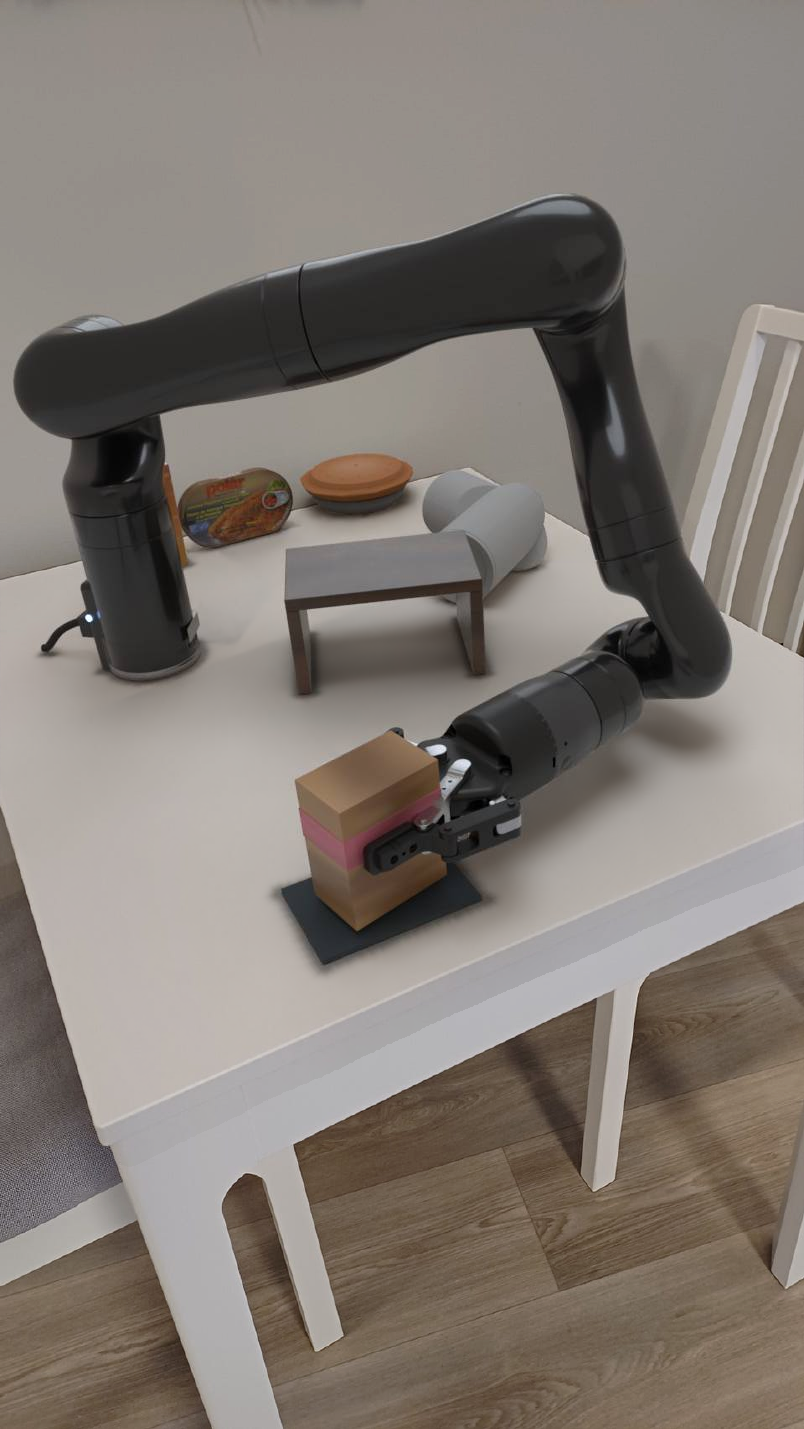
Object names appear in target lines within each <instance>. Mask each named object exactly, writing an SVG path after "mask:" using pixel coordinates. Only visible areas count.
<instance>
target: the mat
mask: <svg viewBox="0 0 804 1429" xmlns="http://www.w3.org/2000/svg"><path fill="white" fill-rule="evenodd" d="M446 868H447V875H446V876H444V877H443V878H441V879H439V880H438V881H436V882H435V883H433V884H431V885H430V886H428V887H427V888H425V889H424V890H422V891H420V892H419V893H417V894H416V895H414V896H412V897H411V898H409V899H408V900H406V901H404V902H403V903H401V904H400V905H398V906H397V907H395V908H393V909H392V910H390V911H389V912H387V913H385V914H384V915H382V916H381V917H379V918H377V919H376V920H374V921H373V922H371V923H370V924H368V925H366V926H365V927H363V928H362V929H360V930H358V931H356V930H355V929H354V928H353V927H351V926H350V925H349V924H348V923H347V922H346V921H345V920H343V919H342V918H341V917H340V916H339V915H338V914H337V913H336V912H334V911H333V910H332V909H331V908H330V907H329V906H328V905H326V904H325V903H324V902H323V901H322V900H321V899H320V898H319V897H317V896H316V895H315V893H314V887H313V881H312V876H311V877H309V878H305V879H303V880H299V881H297V882H294V883H292V884H289V885H287V886H284V887H281V888H280V891H281V894H282V895H283V897H284V899H285V902H286V903H287V904H288V906H289V909H291V911H292V913H293V915H294V916H295V918H296V920H297V922H298V924H299V925H300V927H301V929H302V930H303V932H304V934H305V935H306V938H307V939H308V942H310V944H311V946H312V948H313V949H314V951H315V953H316V955H317V957H318V958H319V960H320V962H321V964H322V965H326V964H328V963H330V962H334V961H336V960H337V959H341V958H344V957H345V956H348V955H350V954H352V953H355V952H357V951H360V950H362V949H365V948H367V947H371V946H373V945H375V944H377V943H379V942H382V941H384V940H387V939H390V938H393V937H394V936H396V935H400V934H401V933H404V932H407V931H410V930H411V929H414V928H417V927H419V926H422V925H424V924H426V923H428V922H430V921H433V920H436V919H438V918H441V917H443V916H446V915H448V914H450V913H453V912H456V911H458V910H460V909H463V908H465V907H468V906H470V905H472V904H475V903H477V902H480V901H482V900H483V898H482V894H480V892H479V891H478V890H477V888H476V887H475V886H474V885H473V883H472V882H471V881H470V880H469V878H467V876H465V874H464V873H463V872H462V870H461V869H460V868H459V866H457V864H456V862H454V863H446Z"/></svg>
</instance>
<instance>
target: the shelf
mask: <svg viewBox="0 0 804 1429" xmlns="http://www.w3.org/2000/svg"><path fill="white" fill-rule="evenodd" d="M284 569H285V571H284V600H283V601H284V606H285V613H286V621H287V626H288V633H289V639H290V640H289V641H290V646H291V652H292V658H293V664H294V665H293V666H294V672H295V677H296V683H297V685H296V686H297V691H298V695H308V694H312V643H311V642H312V641H311V640H312V639H311V629H310V622H309V614H308V611H309V610H315V609H317V610H318V609H327V608H334V607H343V606H344V607H345V606H354V605H364V604H371V603H380V602H381V603H382V602H389V601H390V602H391V601H399V600H409V599H417V598H427V597H436V596H437V597H438V596H441V595H446V594H455V593H456V603H455V606H456V620H457V624H458V627H459V630H460V634H461V637H462V640H463V644H464V647H465V650H466V654H467V658H468V661H469V664H470V667H471V670H472V674H473V676H478V675H486V673H487V670H486V669H487V668H486V667H487V666H486V642H485V641H486V640H485V639H486V638H485V614H484V612H485V611H484V598H483V591H482V590H483V584H482V577H481V574H480V572H479V569H478V566H477V564H476V561H475V558H474V556H473V553H472V550H471V547H470V545H469V542H468V539H467V537H466V534H465V531H464V530H457V531H448V532H438V533H432V532H430V533H421V534H412V535H411V534H410V535H403V536H401V535H400V536H393V537H392V536H391V537H383V538H373V539H366V540H365V539H364V540H356V541H346V542H336V543H327V544H318V545H308V546H299V547H289V548H285V568H284Z"/></svg>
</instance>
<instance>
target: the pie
mask: <svg viewBox="0 0 804 1429" xmlns="http://www.w3.org/2000/svg"><path fill="white" fill-rule="evenodd" d="M413 474H414V470H413V466H412V465H410V464H409V463H408V462H407V461H404V460H401V459H398V458H397V457H393V456H391V455H387V454H381V453H354V454H347V455H341V456H337V457H333V458H329V459H326V460H324V461H322V462H319V463H318V464H316V465H314V467H313V468H311V469H309V470H307V471H306V472H305V473H304V474H302V476H300V484H301V485H302V487H303V489H304V490H305V491H306V492H307V493H308V494H309V495H311V496H312V498H313V500H315V501H316V502H317V504H318V505H319V506H320V507H321V508H322V509H323V510H325V511H327V512H329V513H333V514H338V515H362V514H369V513H375V512H377V511H382V510H384V509H387V508H389V507H391V506H393V505H394V504H396V503H397V502H398V501H399V499H400V498H401V496H402V494H403V493H404V490H405V488H406V486H407V484H409V482H410V481H411V479H412V476H413Z"/></svg>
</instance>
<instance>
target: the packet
mask: <svg viewBox="0 0 804 1429" xmlns="http://www.w3.org/2000/svg"><path fill="white" fill-rule="evenodd" d="M387 731H388V730H387ZM387 731H385V732H386V733H385V732H384V733H382V734H381V735H379V736H377V737H375V738H372V739H371V740H369V741H366V742H365V743H363V744H361V745H359V746H357V747H355V748H353V749H352V750H349V751H347V752H345V753H343V754H342V755H340V756H338V757H336V758H334V759H332V760H330V761H328V762H326V763H323V764H322V765H320V766H319V767H317V768H314V769H312V770H311V771H309V772H307V773H304V774H302V775H301V776H299V777H297V778H295V779H294V786H295V791H296V796H297V801H298V813H299V818H300V819H299V820H300V824H301V825H300V826H301V831H302V836H303V837H304V842H305V847H306V853H307V858H308V864H309V869H310V875H311V877H312V881H313V887H314V893H315V895H316V896H317V897H319V898H320V899H321V900H322V901H323V902H324V903H325V904H326V905H328V906H329V907H330V908H331V909H332V910H333V911H334V912H336V913H337V914H338V915H339V916H340V917H341V918H342V919H343V920H345V921H346V922H347V923H348V924H349V925H350V926H351V927H353V928H354V929H355V930H356V931H358V930H360V929H362V928H363V927H365V926H366V925H368V924H370V923H371V922H373V921H374V920H376V919H377V918H379V917H381V916H382V915H384V914H385V913H387V912H389V911H390V910H392V909H393V908H395V907H397V906H398V905H400V904H401V903H403V902H404V901H406V900H408V899H409V898H411V897H412V896H414V895H416V894H417V893H419V892H420V891H422V890H424V889H425V888H427V887H428V886H430V885H431V884H433V883H435V882H436V881H438V880H439V879H441V878H443V877H444V876H446V875H447V868H446V862H444V861H442V859H441V855H440V854H437V853H433V852H432V853H430V854H427V855H423V854H420V853H419V854H417V855H416V856H414V857H412V858H411V859H409V860H408V861H406V862H404V863H402V864H401V865H399V866H397V867H396V868H394V869H393V870H391V871H387V872H384V873H383V872H381V873H379V874H377V875H372V874H371V873H369V872H368V871H367V870H366V869H365V868H364V858H363V849H364V847H365V846H366V845H367V844H368V843H370V842H372V841H374V840H375V839H377V838H379V837H380V836H382V835H384V834H386V833H387V832H389V831H391V830H393V829H394V828H396V827H398V826H399V825H401V824H403V823H405V822H406V821H407V822H409V823H410V824H412V825H413V824H414V819H415V817H416V816H417V815H418V814H419V813H420V812H422V811H423V810H425V809H427V808H428V807H430V806H431V805H432V804H433V802H434V800H435V798H436V797H437V796H438V795H440V794H442V792H441V787H440V781H439V768H438V759H436V758H434V757H433V756H431V755H430V754H428V753H426V752H425V751H423V750H422V749H420V748H418V747H417V746H415V745H414V744H412V743H410V742H409V741H410V740H409V741H407V740H408V739H407V740H406V738H405V737H404V738H402V737H401V736H399V735H397V734H396V733H394V732H393V731H391V730H390V731H388V732H387Z"/></svg>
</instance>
